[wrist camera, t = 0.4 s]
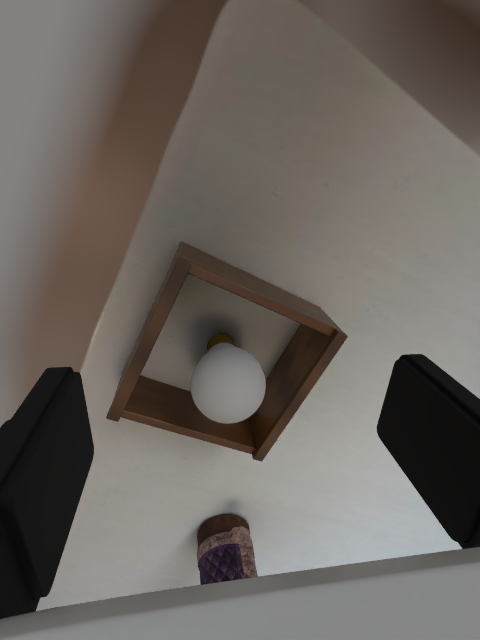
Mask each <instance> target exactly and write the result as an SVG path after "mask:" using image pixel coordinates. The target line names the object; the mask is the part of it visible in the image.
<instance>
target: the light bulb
mask: <svg viewBox="0 0 480 640" xmlns="http://www.w3.org/2000/svg"><path fill="white" fill-rule="evenodd" d="M207 349H208V353H207V354H205V355H204V356H203V357H202V358H201V359H200V360H199V361H198V363H197V364H196V366H195V368H194V370H193V373H192V376H191V383H190V384H191V394H192V398H193V400H194V403H195V405H196V406H197V408H198V409H199V410H200V411H201V412H202V413H203V414H204V415H205V416H206V417H208V418H209V419H211V420H213V421H216V422H219V423H226V424H230V423H237V422H240V421H243V420H245V419H247V418H248V417H250V416H251V415H252V414H253V413H254V412H255V411H256V410H257V409H258V408H259V406H260V405H261V403H262V401H263V398H264V395H265V389H266V380H265V375H264V372H263V369H262V367H261V365H260V363H259V362H258V361H257V360H256V358H255V357H253V356H252V355H251V354H250V353H248V352H247V351H245V350H243V349H240V348H237V347H236V345H235V343H234V340H233V339H232V338H231V337H230V336H229V335H226V334H217V335H215V336H213V337H212V338H211V339H210V340H209V342H208V345H207Z"/></svg>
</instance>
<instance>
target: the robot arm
mask: <svg viewBox="0 0 480 640" xmlns="http://www.w3.org/2000/svg"><path fill="white" fill-rule="evenodd" d="M377 433H378V436H379V438H380V439H381V441H382V442H383V444H384V445H385V446H386V448H387V449H388V451H389V452H390V453H391V455H392V456H393V458H394V459H395V460H396V462H397V463H398V465H399V466H400V467H401V469H402V470H403V472H404V473H405V474H406V476H407V477H408V479H409V480H410V481H411V483H412V484H413V486H414V487H415V489H416V490H417V491H418V493H419V494H420V496H421V497H422V498H423V500H424V501H425V503H426V504H427V505H428V507H429V508H430V510H431V511H432V512H433V514H434V515H435V517H436V518H437V519H438V521H439V522H440V524H441V525H442V526H443V528H444V529H445V531H446V532H447V533H448V535H449V536H450V537H451V538H452V539H453V540H454V541H456V542H458V543H459V544H460V546H461V547H462V549H460V550H452V551H444V552H437V553H429V554H421V555H414V556H406V557H399V558H391V559H384V560H377V561H369V562H362V563H355V564H347V565H340V566H333V567H325V568H318V569H311V570H304V571H296V572H289V573H282V574H275V575H268V576H261V577H254V578H246V579H239V580H232V581H225V582H218V583H211V584H204V585H197V586H190V587H183V588H176V589H169V590H162V591H155V592H148V593H142V594H136V595H129V596H123V597H117V598H111V599H105V600H99V601H92V602H86V603H80V604H74V605H68V606H62V607H55V608H50V609H46V610H41V611H36V608H37V605H38V602H39V600H40V597H46V596H47V595H48V594H49V592H50V590H51V587H52V584H53V581H54V578H55V575H56V572H57V569H58V566H59V563H60V559H61V556H62V553H63V550H64V547H65V544H66V541H67V538H68V535H69V532H70V528H71V525H72V522H73V519H74V516H75V513H76V510H77V507H78V504H79V501H80V497H81V494H82V491H83V488H84V485H85V482H86V479H87V476H88V473H89V470H90V466H91V463H92V460H93V455H94V445H93V440H92V434H91V429H90V423H89V418H88V412H87V406H86V401H85V395H84V390H83V384H82V379H81V375H80V373H79V372H74V371H73V369H72V368H71V367H57V368H47V369H46V370H45V371H44V373H43V374H42V376H41V377H40V378H39V380H38V381H37V383H36V384H35V386H34V387H33V388H32V390H31V391H30V393H29V394H28V396H27V397H26V398H25V400H24V401H23V403H22V404H21V406H20V407H19V409H18V410H17V411H16V413H15V414H14V416H13V417H12V418H11V420H8V421H6V422H5V423H4V424H3V425H2V426H1V428H0V640H480V399H479V398H477V397H476V396H475V395H474V394H472V393H471V392H470V391H469V390H467V389H466V388H465V387H464V386H462V385H461V384H460V383H458V382H457V381H456V380H455V379H453V378H452V377H451V376H450V375H448V374H447V373H446V372H445V371H443V370H442V369H441V368H440V367H438V366H437V365H436V364H435V363H433V362H432V361H431V360H429V359H428V358H427V357H426V356H424V355H422V354H410V355H402V356H401V357H400V358H399V360H396V362H395V364H394V367H393V370H392V374H391V378H390V381H389V385H388V388H387V392H386V396H385V399H384V403H383V406H382V410H381V414H380V417H379V421H378V424H377ZM35 611H36V612H35Z"/></svg>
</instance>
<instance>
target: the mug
mask: <svg viewBox="0 0 480 640" xmlns="http://www.w3.org/2000/svg"><path fill="white" fill-rule="evenodd" d="M197 539H198V551H197V560H198V568H199V571H200V582H201V585H204V584H211V583H218V582H225V581H232V580H239V579H246V578H254V577H258V575H257V570H256V566H255V560H254V550H253V544H252V540H251V537H250V531H249V525H248V523H247V522H246V521H245V520H244V519H243V518H241V517H239V516H237V515H232V514H223V515H218V516H215V517H213V518H211V519H209V520H208V521H206V522H205V523H204V524H203V525H202V526H201V527H200V529H199V530H198V535H197Z"/></svg>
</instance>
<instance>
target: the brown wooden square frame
mask: <svg viewBox="0 0 480 640" xmlns="http://www.w3.org/2000/svg"><path fill="white" fill-rule="evenodd" d="M188 273H189V274H191V275H194V276H196V277H198V278H200V279H203V280H205V281H207V282H209V283H212V284H214V285H216V286H218V287H221V288H223V289H225V290H227V291H230V292H232V293H234V294H236V295H239V296H241V297H243V298H245V299H248V300H250V301H252V302H254V303H256V304H259V305H261V306H263V307H265V308H268V309H270V310H272V311H274V312H277V313H279V314H281V315H283V316H286V317H288V318H290V319H292V320H295V321H297V322H299V323H301V326H300V327H299V329H298V331H297V332H296V334H295V335H294V337H293V339H292V340H291V342H290V343H289V345H288V347H287V348H286V350H285V351H284V353H283V355H282V356H281V358H280V359H279V361H278V363H277V364H276V366H275V367H274V369H273V371H272V372H271V374H270V375H269V377H268V379H267V380H266V389H265V395H264V398H263V401H262V403H261V405H260V406H259V408H258V409H257V410H256V411H255V412H254V413H253V414H252V415H251V416H250V417H248V418H247V419H245V420H243V421H240V422H237V423H230V424H226V423H219V422H216V421H213V420H211V419H209V418H208V417H206V416H205V415H204V414H203V413H202V412H201V411H200V410H199V409H198V408H197V406H196V405H195V403H194V400H193V398H192V394H191V392H188V391H185V390H182V389H179V388H176V387H173V386H170V385H167V384H164V383H161V382H158V381H155V380H152V379H148V378H145V377H142V376H140V374H141V372H142V370H143V368H144V366H145V363H146V361H147V359H148V357H149V355H150V353H151V351H152V348H153V346H154V344H155V342H156V340H157V338H158V336H159V334H160V331H161V329H162V327H163V325H164V323H165V321H166V319H167V317H168V314H169V312H170V310H171V308H172V306H173V304H174V302H175V299H176V297H177V295H178V293H179V291H180V289H181V287H182V285H183V282H184V280H185V278H186V276H187V274H188ZM347 337H348V336H347V335H346V334H345V333H344V332H343V331H342V330H341V329H340V328H339V327H338V326H337V325H336V324H335V323H334V322H333V321H332V320H331V318H330V317H329V316H328V315H327V314H326V313H325V312H324V311H323V310H322V309H321V308H320V307H318V306H316V305H314V304H312V303H310V302H308V301H306V300H304V299H301V298H299V297H297V296H295V295H293V294H291V293H289V292H287V291H285V290H282V289H280V288H278V287H276V286H274V285H272V284H270V283H268V282H266V281H263V280H261V279H259V278H257V277H255V276H253V275H251V274H249V273H247V272H245V271H242V270H240V269H238V268H236V267H234V266H232V265H230V264H228V263H226V262H223V261H221V260H219V259H217V258H215V257H213V256H211V255H209V254H207V253H205V252H202V251H200V250H198V249H196V248H194V247H192V246H190V245H188V244H186V243H183V242H181V243H180V245H179V247H178V249H177V251H176V254H175V256H174V258H173V260H172V263H171V265H170V267H169V269H168V272H167V274H166V276H165V278H164V281H163V283H162V285H161V287H160V290H159V292H158V294H157V296H156V298H155V301H154V303H153V305H152V307H151V310H150V312H149V314H148V316H147V319H146V321H145V323H144V325H143V328H142V330H141V332H140V334H139V337H138V339H137V341H136V343H135V345H134V348H133V350H132V352H131V354H130V357H129V359H128V361H127V363H126V366H125V368H124V370H123V372H122V375H121V377H120V380H119V383H118V386H117V390H116V393H115V396H114V399H113V402H112V405H111V407H110V409H109V412H108V414H107V417H106V418H107V419H110V420H113V421H117V422H118V421H119V419H120V417H122V418H125V419H129V420H132V421H136V422H139V423H143V424H147V425H150V426H154V427H157V428H161V429H164V430H168V431H171V432H175V433H179V434H182V435H186V436H189V437H193V438H196V439H200V440H203V441H207V442H211V443H214V444H218V445H221V446H225V447H228V448H232V449H235V450H239V451H243V452H246V453H250V454H252V456H253V459H254V460H258V461H263V459H264V458H265V456H266V455H267V453H268V452H269V450H270V449H271V447H272V446H273V445H274V443H275V442H276V440H277V439H278V437H279V436H280V434H281V433H282V431H283V430H284V429H285V427H286V426H287V424H288V423H289V421H290V420H291V418H292V417H293V415H294V414H295V413H296V411H297V410H298V408H299V407H300V405H301V404H302V402H303V401H304V399H305V398H306V397H307V395H308V394H309V392H310V391H311V389H312V388H313V386H314V385H315V384H316V382H317V381H318V379H319V378H320V376H321V375H322V373H323V372H324V370H325V369H326V368H327V366H328V365H329V363H330V362H331V360H332V359H333V357H334V356H335V354H336V353H337V352H338V350H339V349H340V347H341V346H342V344H343V343H344V341H345V340H346V338H347Z"/></svg>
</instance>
